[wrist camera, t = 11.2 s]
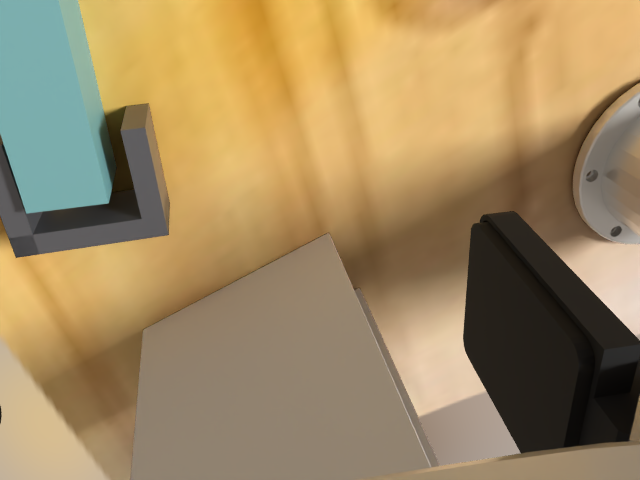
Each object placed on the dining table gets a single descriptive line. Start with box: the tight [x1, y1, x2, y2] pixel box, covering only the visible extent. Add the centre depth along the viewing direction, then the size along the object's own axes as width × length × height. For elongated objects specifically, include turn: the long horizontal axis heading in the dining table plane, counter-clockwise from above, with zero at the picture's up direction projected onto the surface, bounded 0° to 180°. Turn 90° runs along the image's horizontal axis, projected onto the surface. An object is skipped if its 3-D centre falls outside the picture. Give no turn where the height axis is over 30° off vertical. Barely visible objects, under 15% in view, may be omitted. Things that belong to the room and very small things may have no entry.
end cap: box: [0, 103, 170, 258], centre depth 33 cm, size 8×6×4 cm
